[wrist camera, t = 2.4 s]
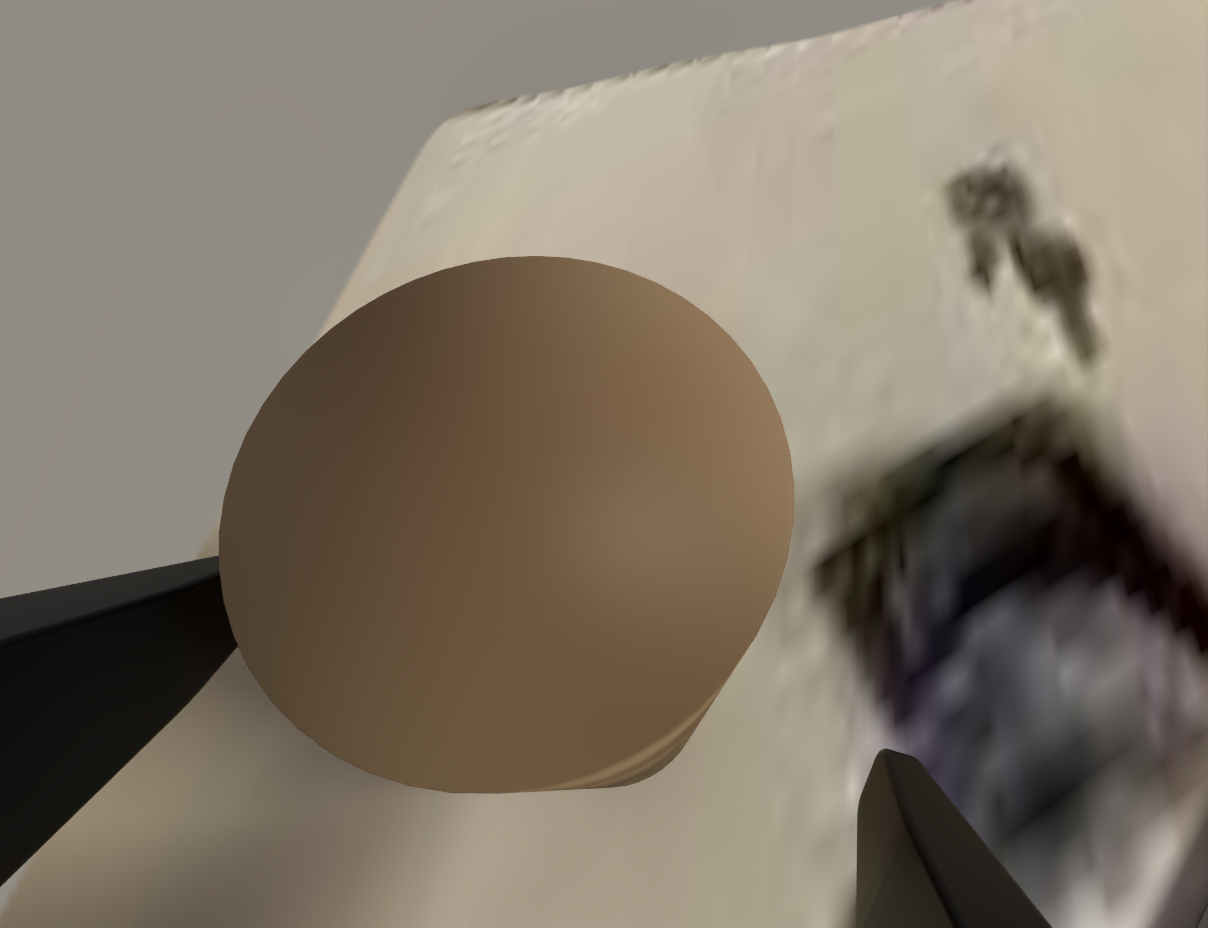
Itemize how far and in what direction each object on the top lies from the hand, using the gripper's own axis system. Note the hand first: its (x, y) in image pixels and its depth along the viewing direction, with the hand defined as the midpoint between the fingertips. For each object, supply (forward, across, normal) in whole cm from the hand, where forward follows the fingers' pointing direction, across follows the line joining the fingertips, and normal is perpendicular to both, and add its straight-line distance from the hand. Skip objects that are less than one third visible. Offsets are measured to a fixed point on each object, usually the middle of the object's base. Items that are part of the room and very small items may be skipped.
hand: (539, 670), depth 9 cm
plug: (+7, 0, +6) cm, 9 cm away
